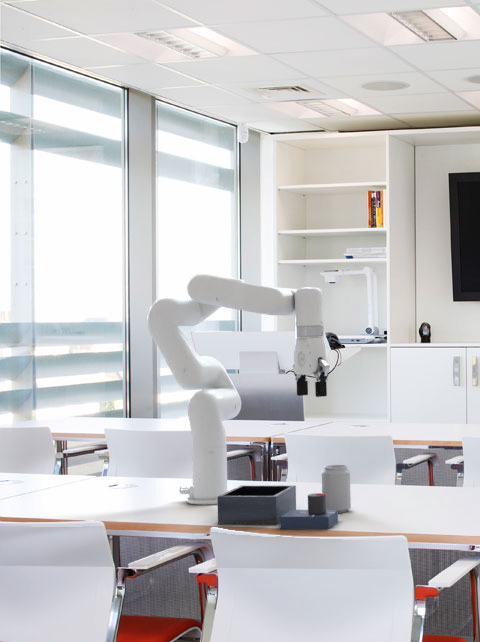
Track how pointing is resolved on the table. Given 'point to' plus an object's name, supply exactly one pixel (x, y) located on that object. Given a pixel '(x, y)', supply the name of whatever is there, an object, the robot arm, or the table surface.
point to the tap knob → (317, 503)
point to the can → (336, 487)
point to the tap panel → (308, 520)
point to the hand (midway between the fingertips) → (311, 395)
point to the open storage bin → (255, 505)
